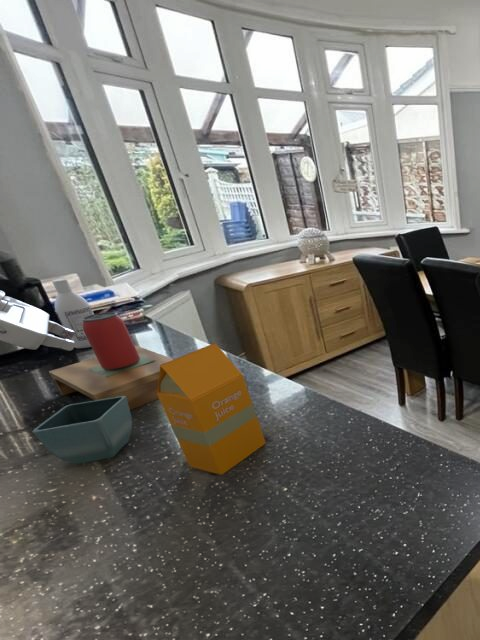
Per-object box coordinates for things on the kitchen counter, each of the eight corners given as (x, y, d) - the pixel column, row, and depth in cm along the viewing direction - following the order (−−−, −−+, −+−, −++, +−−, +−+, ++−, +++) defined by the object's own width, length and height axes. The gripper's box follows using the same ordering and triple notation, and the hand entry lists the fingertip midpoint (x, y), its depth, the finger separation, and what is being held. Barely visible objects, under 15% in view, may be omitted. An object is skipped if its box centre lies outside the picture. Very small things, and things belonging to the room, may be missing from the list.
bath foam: (113, 340, 122) (83, 277, 114) (89, 349, 116) (56, 283, 108) (92, 339, 123) (62, 277, 115) (68, 349, 116) (33, 283, 108)
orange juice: (266, 443, 73) (233, 344, 65) (221, 475, 65) (177, 368, 57) (235, 435, 75) (199, 340, 67) (187, 466, 67) (141, 362, 59)
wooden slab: (106, 419, 81) (93, 394, 79) (61, 394, 91) (48, 370, 89) (193, 385, 94) (183, 361, 92) (144, 365, 104) (135, 344, 102)
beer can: (129, 357, 95) (108, 310, 90) (147, 360, 93) (126, 312, 88) (95, 369, 89) (71, 319, 84) (114, 373, 87) (90, 322, 82)
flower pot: (88, 444, 73) (66, 404, 70) (146, 434, 76) (126, 394, 73) (56, 476, 66) (29, 432, 62) (121, 463, 68) (98, 420, 65)
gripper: (-20, 306, 68) (85, 340, 79) (-6, 286, 81) (82, 318, 92) (-46, 337, 67) (63, 368, 77) (-28, 312, 80) (63, 341, 90)
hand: (73, 341), depth 85 cm, fingers open, 8 cm apart
